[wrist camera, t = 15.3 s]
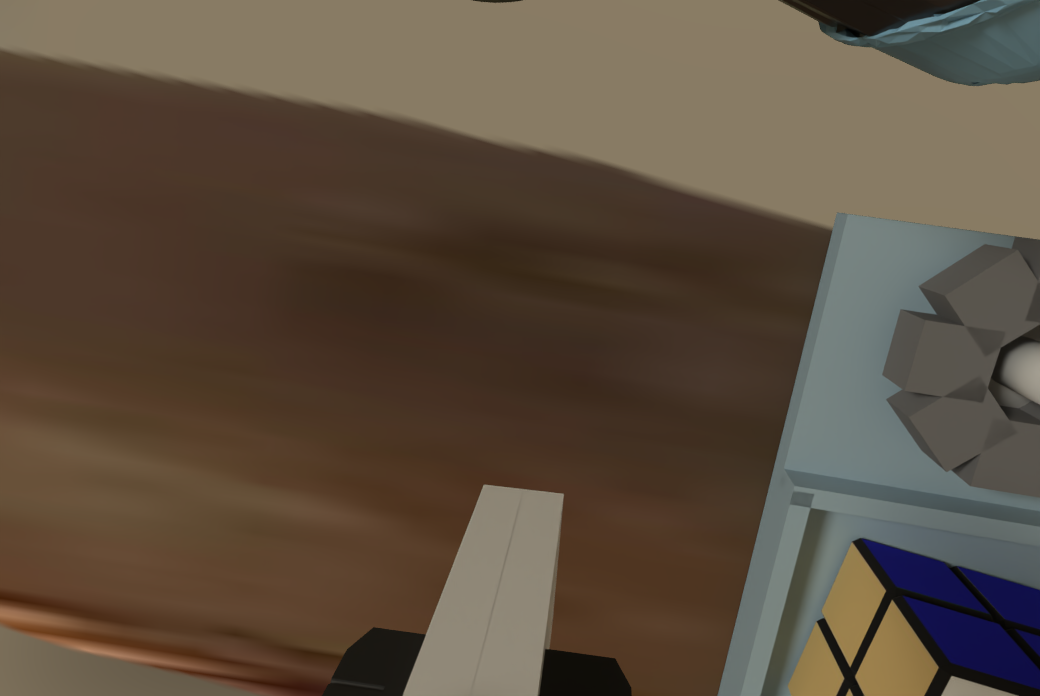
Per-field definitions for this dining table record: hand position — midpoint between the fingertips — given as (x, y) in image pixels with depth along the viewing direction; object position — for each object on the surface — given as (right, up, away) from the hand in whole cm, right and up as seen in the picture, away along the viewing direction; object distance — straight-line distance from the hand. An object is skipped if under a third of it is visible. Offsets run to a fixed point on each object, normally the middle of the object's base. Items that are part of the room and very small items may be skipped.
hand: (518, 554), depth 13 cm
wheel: (+23, +3, +19) cm, 30 cm away
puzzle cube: (+21, -12, +24) cm, 34 cm away
